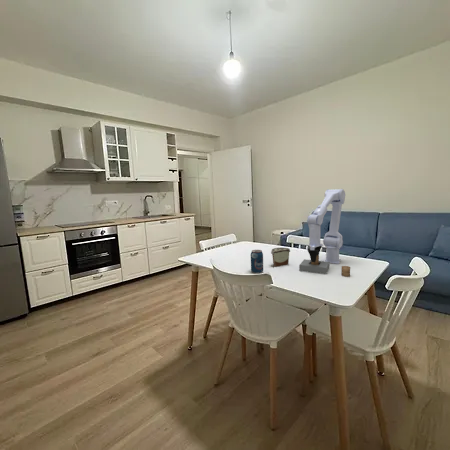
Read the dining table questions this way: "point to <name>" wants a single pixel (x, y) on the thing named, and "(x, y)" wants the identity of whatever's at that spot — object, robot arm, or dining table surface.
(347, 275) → the short pin
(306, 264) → the hole plate
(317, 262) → the tall pin
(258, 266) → the soda can
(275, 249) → the food container
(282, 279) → the dining table surface
